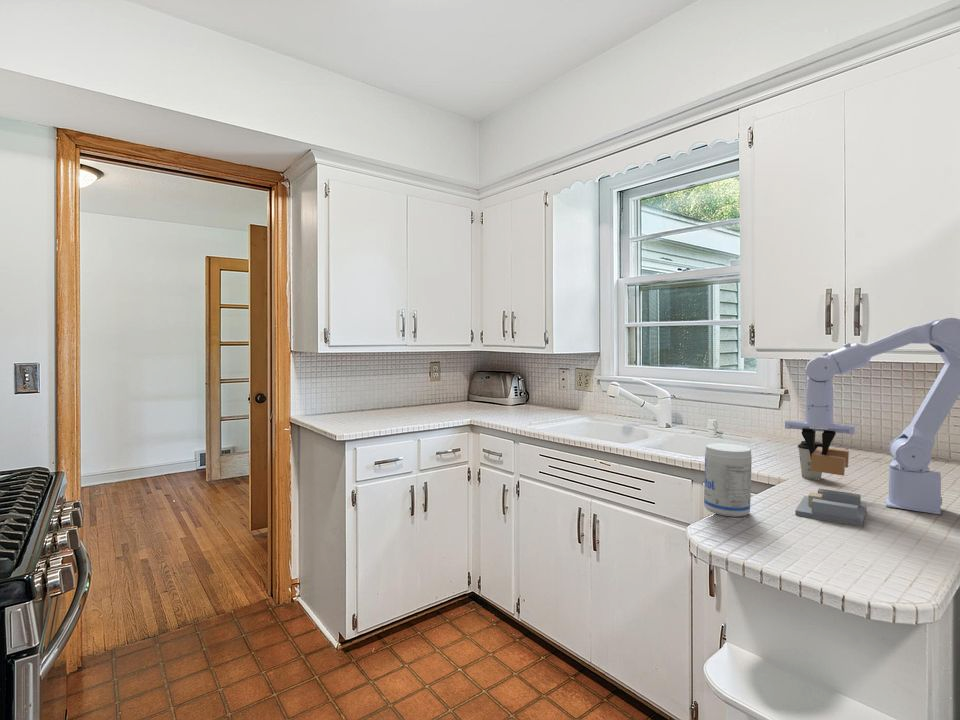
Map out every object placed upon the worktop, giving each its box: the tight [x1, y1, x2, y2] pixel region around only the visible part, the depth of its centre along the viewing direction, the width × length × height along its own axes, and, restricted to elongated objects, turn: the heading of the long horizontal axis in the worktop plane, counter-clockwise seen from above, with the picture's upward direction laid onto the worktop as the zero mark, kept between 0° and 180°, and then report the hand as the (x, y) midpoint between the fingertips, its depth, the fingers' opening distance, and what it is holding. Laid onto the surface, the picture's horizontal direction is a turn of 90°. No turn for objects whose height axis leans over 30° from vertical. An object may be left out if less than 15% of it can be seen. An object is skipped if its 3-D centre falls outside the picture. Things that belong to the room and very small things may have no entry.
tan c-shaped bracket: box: [811, 447, 850, 476], centre depth 128 cm, size 7×12×4 cm, turn 141°
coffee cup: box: [797, 440, 823, 481], centre depth 147 cm, size 7×7×10 cm
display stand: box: [795, 488, 867, 528], centre depth 116 cm, size 12×14×4 cm
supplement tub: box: [703, 442, 753, 518], centre depth 117 cm, size 10×10×15 cm
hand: (818, 460), depth 129 cm, fingers closed on tan c-shaped bracket, 2 cm apart
